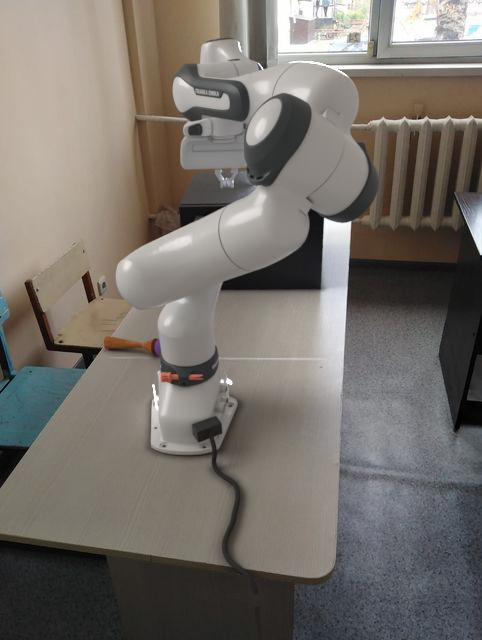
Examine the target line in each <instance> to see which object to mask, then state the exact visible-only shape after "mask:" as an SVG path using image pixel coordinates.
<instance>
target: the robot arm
mask: <svg viewBox="0 0 482 640" xmlns="http://www.w3.org/2000/svg"><path fill="white" fill-rule="evenodd" d="M200 48H201V49H200V55H199V57H200V58H199V63H196V62H194V63H193V62H192V63H191V62H190V63H183V64H182V66H181V67H180V68H179V69H178V70H177V72H176V73H175V75H174V77H173V79H172V84H171V93H172V99H173V103H174V106H175V108H176V110H177V111H178V113H179V114H180V115H181V116H182V117H183V118H185V119H186V120H188V121H187V122H186V123H184V125H183V128H182V133H183V135H184V136H183V138H182V140H181V142H180V151H179V152H180V155H179V157H180V158H179V159H180V166H181V168H182V169H184V170H186V171H189V170H190V171H191V170H214V172H215V175H216V176H217V178H218V179H219V181H220V185H221V188H233V187H234V178H235V176H236V174H237V172H238V171H239V169H245V171H246V176H247V178H248V179H249V181H250V182H251V183H252V184H253V185H257V187H256V188H255V190H254V191H253V192H252V193H251V194H250V195H248V196H246V197H244V198H242V199H240V200H238V201H235V202H233V203H231V204H229V205H227V206H225V207H223V208H221V209H219V210H217V211H215V212H213V213H211V214H209V215H207V216H205V217H203V218H201V219H199V220H197V221H195V222H193V223H190V224H188V225H186V226H184V227H182V228H181V227H180V228H178V229H175V230H173V231H171V232H169V233H167V234H165V235H163V236H160V237H159V238H156V239H154V240H152V241H150V242H148V243H146V244H144V245H141V246H139V247H138V248H137V249H135V250H134V251H132V252H131V253H129V254H127V255H126V256H125V257H124V258H123V259H121V260H120V261H119V262H118V263H117V266H116V270H115V283H116V288H117V290H118V293H119V295H120V297H122V299H123V300H124V301H125V302H126V303H127V304H128V305H130V306H131V307H132V308H134V309H136V310H139V311H147V310H151V309H155V308H159V307H162V306H164V307H163V308H162V309H161V311H160V313H159V315H158V318H157V323H156V324H157V325H156V326H157V333H158V334H157V335H158V339H159V340H160V347H161V351H160V357H159V367H160V368H159V370H158V371H157V378H158V394H156V388H155V384H152V388H153V397H154V398H153V399H152V400H151V413H150V415H151V416H150V419H151V420H150V447H151V448H152V450H155V451H157V452H159V453H162V454H167V455H173V456H174V455H175V456H198V455H199V456H200V455H205V454H209V453H211V466H212V469H213V471H214V473H215V474H216V475H217V476H218V477H220V478H221V479H223V480H225V481H226V482H227V483H230V485H231V486H232V487H233V489H234V496H235V497H234V503H233V507H232V512H231V516H230V521H229V522H228V523H229V524H228V526H227V528H226V530H225V532H224V535H223V538H222V542H221V551H222V555H223V558H224V560H225V561H226V562H227V564H228V565H229V566H230V567H232V568H233V569H234V570H235V571H237V572H238V573H239V574H240V575H241V576H242V577H243V578H244V579H245V580H246V581H247V583H248V584H249V586H250V589H251V591H252V593H253V595H258V594H259V592H260V591H259V588H258V586H257V584H256V582H255V579H254V578H253V577H252V575H251V574H250V572H249V571H248V570H247V569H245V568H244V567H243V566H242V565H240V564H238V562H236V561H235V560H234V559H233V558H232V557H231V555H230V552H229V548H228V546H229V545H228V544H229V540H230V537H231V534H232V532H233V529H234V527H235V525H236V522H237V516H238V511H239V508H240V503H241V491H240V487H239V485H238V483H237V482H236V480H234V479H233V478H232V477H230V476H228V475H227V474H225V473H224V472H222V470H220V468H219V466H218V464H217V458H218V450H219V449H220V448H221V447H222V444H223V442H224V439H225V436H226V435H227V432H228V430H229V427H230V425H231V423H232V420H233V418H234V415H235V413H236V410H237V409H238V404H239V403H238V400H237V399H236V398H234V397H232V396H230V389H229V385H233V381H232V380H231V379H229V378H228V374H227V372H226V370H224V369H223V368H222V367H221V366H220V365H219V364H220V361H219V360H220V355H219V350H218V347H217V345H216V338H215V313H216V307H217V303H218V299H219V295H220V292H221V290H220V289H221V286H222V283H223V281H226V280H229V279H232V278H235V277H238V276H241V275H244V274H247V273H250V272H253V271H256V270H259V269H261V268H264V267H267V266H269V265H271V264H274V263H276V262H278V261H280V260H281V259H283V258H285V257H286V256H288V255H290V254H291V253H293V252H294V251H296V250H297V249H298V248H299V247H301V246H302V244H303V243H304V242H305V240H306V238H307V235H308V232H309V216H308V212H309V210H310V208H311V209H312V210H314V211H316V212H317V213H318V214H319V215H320V216H322V217H324V219H326V220H329V221H331V222H334V223H339V224H346V223H350V222H353V221H354V220H356V219H358V218H359V217H361V216H362V215H363V214H365V212H366V211H367V210H368V209H369V208H370V207H371V205H372V204H373V203H374V201H375V199H376V197H377V194H378V191H379V187H380V177H379V173H378V170H377V168H376V166H375V164H374V162H373V161H372V158H371V156H370V155H369V153H368V148H367V147H366V143H364V142H363V141H362V142H361V141H360V142H358V141H356V140H355V139H354V138H353V136H352V134H351V129H352V126H353V124H354V122H355V121H356V118H357V116H358V113H359V107H360V96H359V91H358V88H357V86H356V85H355V83H354V81H353V79H351V77H349V76H348V75H347V74H345V73H344V72H342V71H340V70H338V69H337V68H334V67H332V66H329V65H326V64H323V63H320V62H314V61H303V60H300V61H299V60H298V61H290V62H285V63H280V64H277V65H273V66H270V67H265V68H263V67H262V65H261V64H260V63H259V62H257V61H256V60H251V59H250V58H249V57H248V56H246V55H245V54H244V53H243V52H242V50H241V46H240V42H239V40H238V39H236V38H233V37H219V38H215V39H209V40H207V41H205V42H203V44H202V45H201V47H200ZM225 169H228V170H229V169H230V171H231V173H233V175H232V177H231V178H229V179H224V178H223V176H222V175H221V171H223V170H225ZM253 178H254V179H253ZM253 612H254V624H255V634H256V635H255V636H256V640H263V639H264V638H263V629H262V627H263V626H262V619H261V617H262V616H261V606H254V611H253Z"/></svg>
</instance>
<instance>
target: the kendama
mask: <svg viewBox="0 0 482 640" xmlns="http://www.w3.org/2000/svg"><path fill="white" fill-rule="evenodd" d="M103 347H104V349H106V350H118V349H119V350H120V349H144V350H145V351H147V352H148V353H150V354H151V355H154V356H156V355H157V357H158V358H160V351H161V347H160V340H159V338H157V337H155V338H152V339H150V340H148V341H145V342H139V341H135V340H129V339H124V338H119V337H114V336H109V335H106V337H104V340H103Z"/></svg>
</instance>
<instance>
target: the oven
mask: <svg viewBox="0 0 482 640" xmlns="http://www.w3.org/2000/svg"><path fill="white" fill-rule="evenodd" d="M221 175H222V176H223V178H224V179H229V178H231V177H232V175H233V173H231V170H222V171H221ZM253 179H254V178H253ZM256 187H257V185H253V184H252V183H251V182H250V181H249V179H248V178H247V176H246V170H238V172H237V174H236V176H235V178H234V187H233V188H221V185H220V181H219V179H218V178H217V176H216V175H215V171H195V173H194V174H193V177H192V179H191V181H190V183H189V184H188V187H187V189H186V191H185V193H184V194H183V196H182V198H181V201H180V203H179V206H180V205H211V204H231V203H233V202H235V201H238V200H240V199H242V198H244V197H246V196H248V195H250V194H251V193H252V192H253V191H254V190H255V188H256Z"/></svg>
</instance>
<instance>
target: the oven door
mask: <svg viewBox="0 0 482 640" xmlns="http://www.w3.org/2000/svg"><path fill="white" fill-rule="evenodd" d="M227 205H229V204H211V205H180V204H179V205H178V211H179V212H178V213H179V223H180V228H182V227H184V226H186V225H188V224H190V223H193V222H195V221H197V220H199V219H201V218H203V217H205V216H207V215H209V214H211V213H213V212H215V211H217V210H219V209H221V208H223V207H225V206H227ZM308 216H309V232H308V235H307V238H306V240H305V242H304V243H303V244H302V246H301V247H299V248H298V249H297V250H296V251H294V252H293V253H291V254H290V255H288V256H286V257H285V258H283V259H281V260H280V261H278V262H276V263H274V264H271V265H269V266H267V267H264V268H261V269H259V270H256V271H253V272H250V273H247V274H244V275H241V276H238V277H235V278H232V279H229V280H226V281H223V283H222V286H221V289H220V291H237V290H239V291H241V290H242V291H249V290H251V291H252V290H255V291H256V290H258V291H261V290H263V291H264V290H265V291H269V290H270V291H271V290H273V291H274V290H279V291H280V290H281V291H282V290H321V289H322V271H323V251H324V234H325V233H324V229H325V218H324V217H322V216H320V215H319V214H318V213H317V212H316V211H314V210H312V209H311V208H310V210H309V212H308Z"/></svg>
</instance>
